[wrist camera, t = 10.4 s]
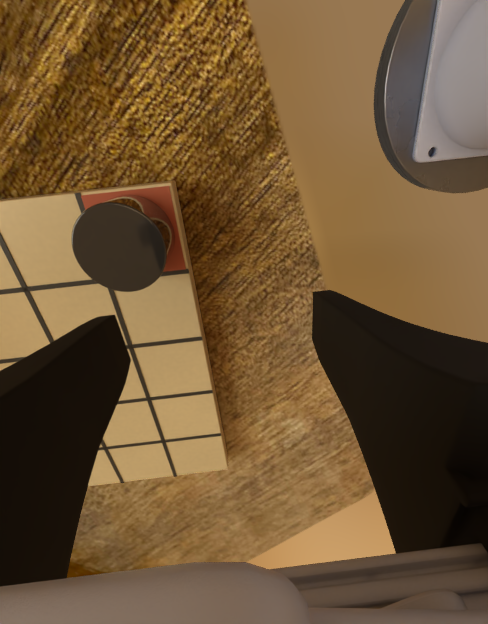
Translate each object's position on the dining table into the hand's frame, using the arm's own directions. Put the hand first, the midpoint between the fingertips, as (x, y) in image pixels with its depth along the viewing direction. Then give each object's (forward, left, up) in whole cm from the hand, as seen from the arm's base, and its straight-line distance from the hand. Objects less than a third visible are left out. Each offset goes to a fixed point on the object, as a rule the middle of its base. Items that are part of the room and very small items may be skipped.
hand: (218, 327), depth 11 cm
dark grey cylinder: (+5, -2, -8) cm, 9 cm away
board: (+12, +8, -9) cm, 17 cm away
